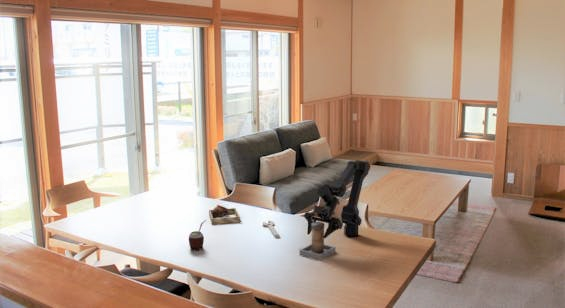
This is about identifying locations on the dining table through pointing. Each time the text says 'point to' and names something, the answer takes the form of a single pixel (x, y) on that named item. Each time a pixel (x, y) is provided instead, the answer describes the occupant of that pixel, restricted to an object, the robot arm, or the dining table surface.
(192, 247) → the mate gourd
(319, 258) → the tray
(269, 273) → the dining table surface
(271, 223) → the adjustable wrench
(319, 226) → the walnut canister
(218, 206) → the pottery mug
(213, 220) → the tray
